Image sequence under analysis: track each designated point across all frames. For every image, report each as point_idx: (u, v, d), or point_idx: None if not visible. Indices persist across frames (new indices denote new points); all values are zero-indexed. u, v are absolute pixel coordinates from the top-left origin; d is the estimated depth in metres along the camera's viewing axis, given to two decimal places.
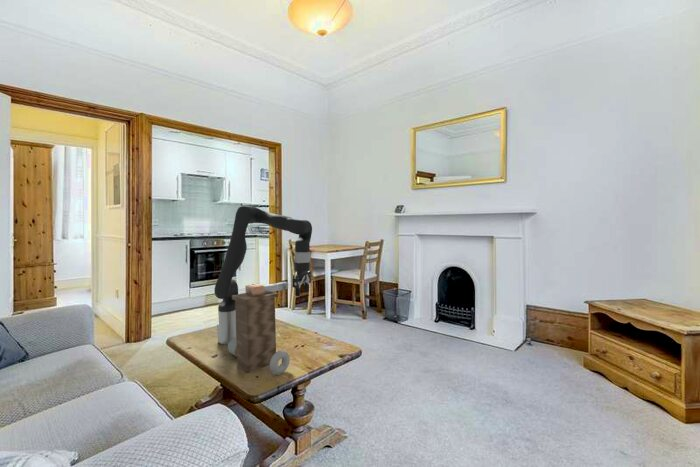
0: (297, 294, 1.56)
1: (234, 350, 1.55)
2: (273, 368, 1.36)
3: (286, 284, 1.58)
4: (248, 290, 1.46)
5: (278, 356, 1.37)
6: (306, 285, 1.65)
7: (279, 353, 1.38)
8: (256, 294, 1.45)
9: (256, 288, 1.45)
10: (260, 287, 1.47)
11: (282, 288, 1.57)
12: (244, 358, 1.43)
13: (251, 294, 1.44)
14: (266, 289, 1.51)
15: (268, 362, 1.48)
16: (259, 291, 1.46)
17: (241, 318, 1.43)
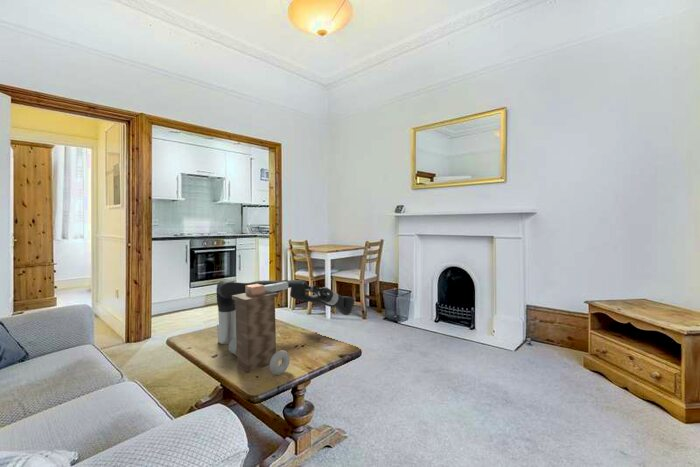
0: (303, 284, 1.74)
1: (235, 350, 1.55)
2: (273, 368, 1.36)
3: (286, 284, 1.58)
4: (248, 290, 1.46)
5: (278, 356, 1.37)
6: None
7: (279, 353, 1.38)
8: (256, 294, 1.45)
9: (256, 288, 1.45)
10: (260, 287, 1.47)
11: (282, 288, 1.57)
12: (244, 358, 1.43)
13: (251, 294, 1.44)
14: (266, 289, 1.51)
15: (268, 362, 1.48)
16: (259, 291, 1.46)
17: (241, 318, 1.43)
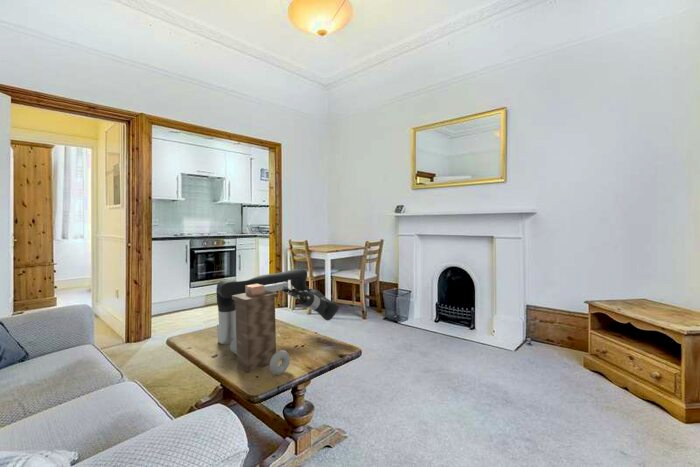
0: None
1: (236, 349, 1.56)
2: (273, 368, 1.36)
3: (286, 284, 1.58)
4: (248, 290, 1.46)
5: (278, 356, 1.37)
6: None
7: (279, 353, 1.38)
8: (256, 294, 1.45)
9: (256, 288, 1.45)
10: (260, 287, 1.47)
11: (282, 288, 1.57)
12: (244, 358, 1.43)
13: (251, 294, 1.44)
14: (266, 289, 1.51)
15: (268, 362, 1.48)
16: (259, 291, 1.46)
17: (241, 318, 1.43)
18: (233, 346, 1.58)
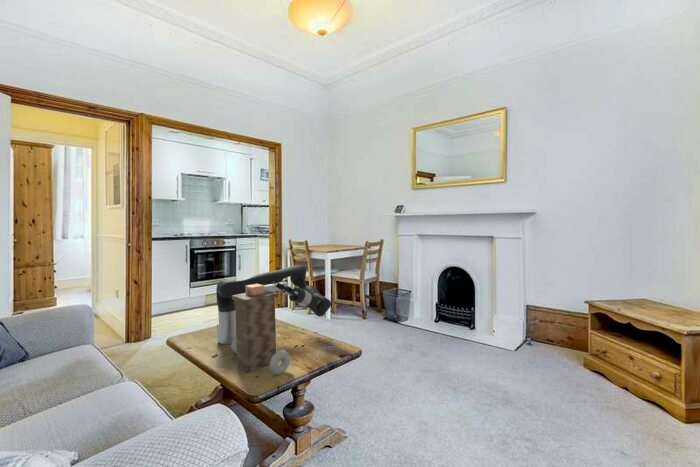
0: None
1: None
2: (273, 368, 1.36)
3: (286, 284, 1.58)
4: (248, 290, 1.46)
5: (278, 356, 1.37)
6: None
7: (279, 353, 1.38)
8: (256, 294, 1.45)
9: (256, 288, 1.45)
10: (260, 287, 1.47)
11: None
12: (244, 358, 1.43)
13: (251, 294, 1.44)
14: (266, 289, 1.50)
15: (268, 362, 1.48)
16: (259, 291, 1.46)
17: (241, 318, 1.43)
18: (234, 346, 1.58)
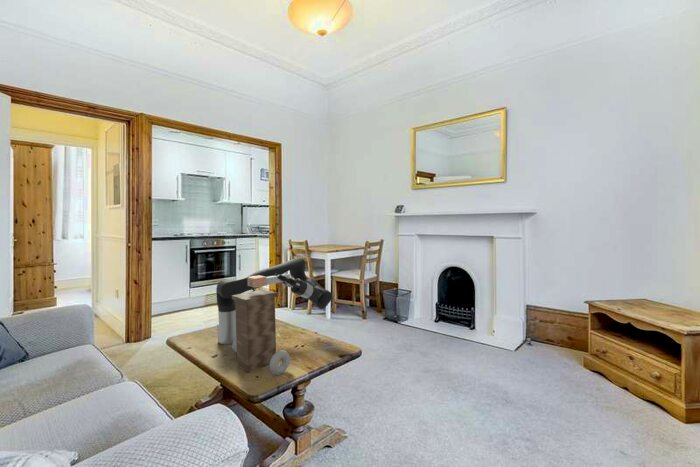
0: None
1: None
2: (273, 368, 1.36)
3: (288, 276, 1.59)
4: (250, 281, 1.46)
5: (278, 356, 1.37)
6: None
7: (279, 353, 1.38)
8: (258, 285, 1.46)
9: (258, 279, 1.45)
10: (262, 278, 1.47)
11: None
12: (244, 358, 1.43)
13: (253, 285, 1.45)
14: (268, 280, 1.51)
15: (268, 362, 1.48)
16: (261, 282, 1.47)
17: (241, 318, 1.43)
18: (235, 345, 1.59)
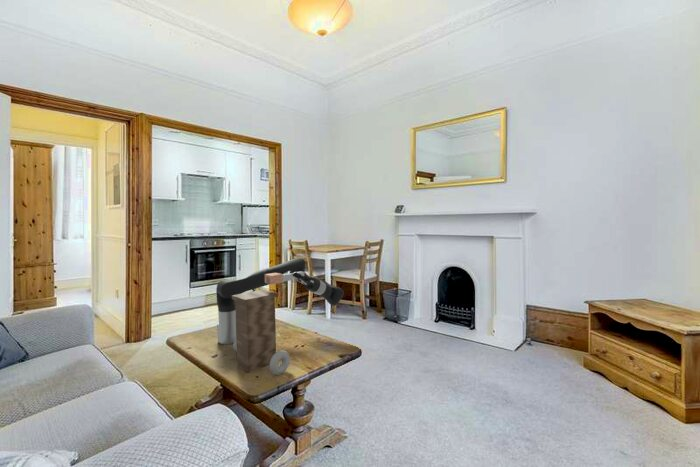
0: (290, 272, 1.65)
1: None
2: (273, 368, 1.36)
3: (302, 273, 1.65)
4: (267, 278, 1.53)
5: (278, 356, 1.37)
6: None
7: (279, 353, 1.38)
8: (275, 282, 1.52)
9: (275, 276, 1.52)
10: (279, 275, 1.53)
11: None
12: (244, 358, 1.43)
13: (270, 282, 1.51)
14: (284, 277, 1.57)
15: (268, 362, 1.48)
16: (278, 279, 1.53)
17: (241, 318, 1.43)
18: (236, 345, 1.59)
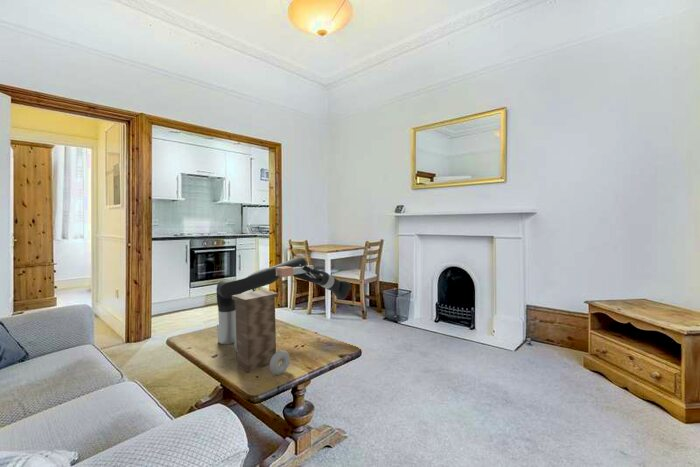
0: (300, 266, 1.69)
1: None
2: (273, 368, 1.36)
3: (312, 267, 1.70)
4: (278, 271, 1.57)
5: (278, 356, 1.37)
6: None
7: (279, 353, 1.38)
8: (286, 275, 1.56)
9: (286, 269, 1.56)
10: (289, 269, 1.58)
11: None
12: (244, 358, 1.43)
13: (281, 275, 1.56)
14: (294, 271, 1.62)
15: (268, 362, 1.48)
16: (289, 272, 1.57)
17: (241, 318, 1.43)
18: None
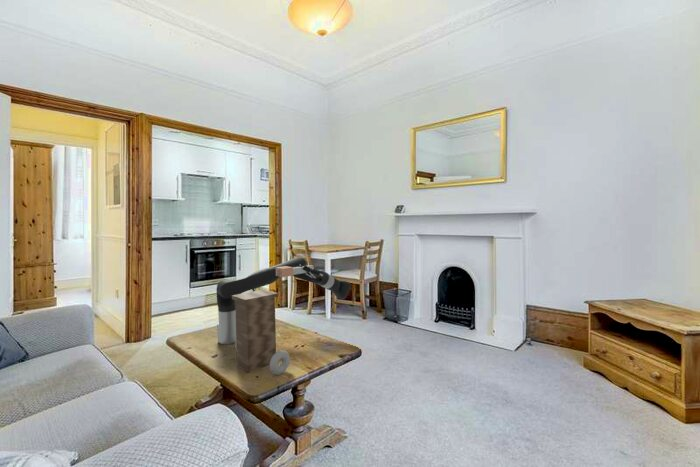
0: (300, 266, 1.69)
1: None
2: (273, 368, 1.36)
3: (312, 267, 1.70)
4: (278, 271, 1.57)
5: (278, 356, 1.37)
6: None
7: (279, 353, 1.38)
8: (286, 275, 1.56)
9: (286, 269, 1.56)
10: (289, 269, 1.58)
11: None
12: (244, 358, 1.43)
13: (281, 275, 1.56)
14: (294, 271, 1.62)
15: (268, 362, 1.48)
16: (289, 272, 1.57)
17: (241, 318, 1.43)
18: None
